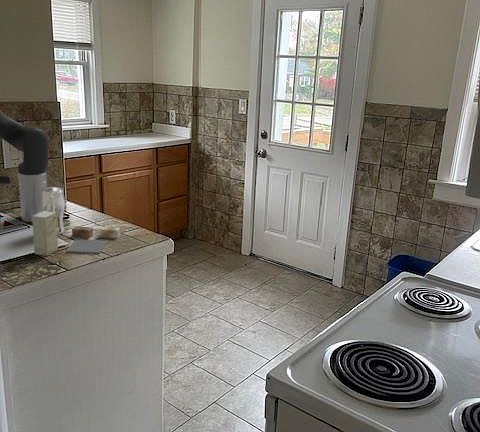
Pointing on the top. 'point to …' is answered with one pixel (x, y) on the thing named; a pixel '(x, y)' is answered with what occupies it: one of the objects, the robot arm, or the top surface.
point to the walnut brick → (82, 232)
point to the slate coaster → (87, 246)
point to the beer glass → (54, 204)
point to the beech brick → (110, 232)
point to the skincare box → (45, 233)
